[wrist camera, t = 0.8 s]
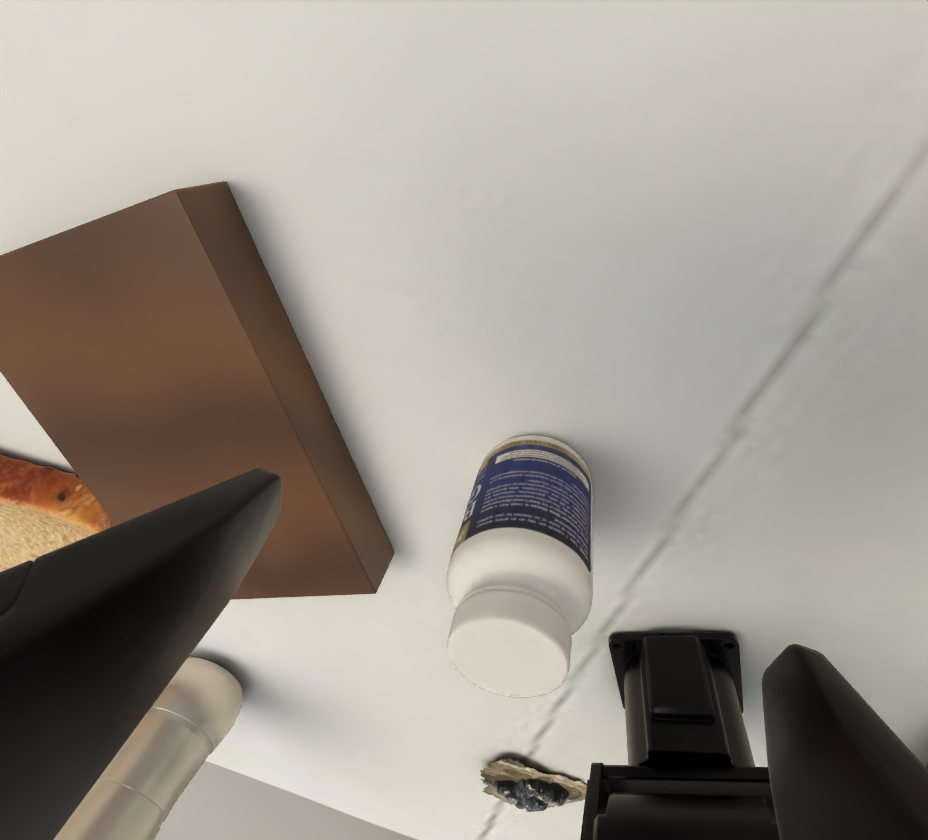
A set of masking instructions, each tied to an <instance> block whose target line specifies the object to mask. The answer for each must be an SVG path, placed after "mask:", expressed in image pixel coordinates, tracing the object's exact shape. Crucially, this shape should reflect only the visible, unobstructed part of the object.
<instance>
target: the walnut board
mask: <svg viewBox="0 0 928 840" xmlns="http://www.w3.org/2000/svg"><path fill="white" fill-rule="evenodd" d="M0 372H1V373H2V374H3V376H4V377H5V378H6V380H7V381H8V382H9V384H10V385H11V386H12V388H13V389H14V390H15V392H16V393H17V394H18V396H19V397H20V398H21V400H22V401H23V402H24V404H25V405H26V406H27V408H28V409H29V410H30V412H31V413H32V414H33V416H34V417H35V418H36V420H37V421H38V422H39V424H40V425H41V426H42V428H43V429H44V430H45V432H46V433H47V434H48V436H49V437H50V438H51V440H52V441H53V442H54V444H55V445H56V446H57V448H58V449H59V450H60V452H61V453H62V454H63V456H64V457H65V458H66V460H67V461H68V462H69V464H70V465H71V466H72V468H73V469H74V470H75V472H76V473H77V474H78V476H79V477H80V478H81V480H82V481H83V482H84V484H85V485H86V486H87V488H88V489H89V490H90V492H91V493H92V494H93V496H94V497H95V498H96V500H97V501H98V502H99V504H100V505H101V506H102V508H103V509H104V510H105V512H106V513H107V514H108V516H109V517H110V518H111V520H112V521H113V522H114V524H115V525H118V524H121V523H123V522H126V521H128V520H131V519H133V518H135V517H138V516H140V515H143V514H145V513H148V512H150V511H153V510H155V509H158V508H160V507H163V506H165V505H168V504H170V503H173V502H175V501H177V500H180V499H182V498H185V497H187V496H190V495H192V494H195V493H197V492H200V491H202V490H205V489H207V488H210V487H212V486H215V485H217V484H220V483H222V482H224V481H227V480H229V479H232V478H234V477H237V476H239V475H242V474H244V473H247V472H249V471H252V470H254V469H258V468H262V469H265V470H268V471H271V472H275V473H278V474H279V475H280V476H281V478H282V501H281V512H280V515H279V518H278V520H277V522H276V524H275V526H274V527H273V529H272V531H271V533H270V534H269V536H268V538H267V539H266V541H265V543H264V545H263V546H262V548H261V550H260V551H259V553H258V555H257V557H256V558H255V560H254V562H253V563H252V565H251V567H250V569H249V570H248V572H247V574H246V575H245V577H244V579H243V581H242V582H241V584H240V586H239V587H238V589H237V590H236V592H235V594H234V595H233V597H232V598H231V599H253V598H278V597H303V596H327V595H352V594H375V593H376V592H377V590H378V588H379V586H380V584H381V581H382V579H383V577H384V575H385V572H386V570H387V568H388V566H389V564H390V561H391V559H392V557H393V555H394V551H393V549H392V546H391V544H390V542H389V540H388V538H387V535H386V533H385V531H384V529H383V527H382V524H381V522H380V520H379V518H378V516H377V513H376V511H375V509H374V507H373V505H372V502H371V500H370V498H369V496H368V494H367V491H366V489H365V487H364V485H363V483H362V480H361V478H360V476H359V474H358V472H357V469H356V467H355V465H354V463H353V461H352V458H351V456H350V454H349V452H348V450H347V447H346V445H345V443H344V441H343V439H342V436H341V434H340V432H339V430H338V428H337V425H336V423H335V421H334V419H333V417H332V414H331V412H330V410H329V408H328V406H327V403H326V401H325V399H324V397H323V395H322V392H321V390H320V388H319V386H318V384H317V381H316V379H315V377H314V375H313V373H312V370H311V368H310V366H309V364H308V362H307V359H306V357H305V355H304V353H303V350H302V348H301V346H300V344H299V342H298V339H297V337H296V335H295V333H294V331H293V328H292V326H291V324H290V322H289V320H288V317H287V315H286V313H285V311H284V309H283V306H282V304H281V302H280V300H279V298H278V295H277V293H276V291H275V289H274V287H273V284H272V282H271V280H270V278H269V276H268V273H267V271H266V269H265V267H264V265H263V262H262V260H261V258H260V256H259V254H258V251H257V249H256V247H255V245H254V243H253V240H252V238H251V236H250V234H249V232H248V229H247V227H246V225H245V223H244V221H243V218H242V216H241V214H240V212H239V210H238V207H237V205H236V203H235V201H234V199H233V196H232V194H231V192H230V190H229V188H228V185H227V183H226V182H225V181H223V182H217V183H211V184H205V185H200V186H194V187H188V188H182V189H177V190H173V191H170V192H168V193H165V194H162V195H160V196H157V197H154V198H152V199H149V200H146V201H144V202H141V203H138V204H136V205H133V206H130V207H128V208H125V209H122V210H120V211H117V212H115V213H112V214H109V215H107V216H104V217H101V218H99V219H96V220H93V221H91V222H88V223H85V224H83V225H80V226H77V227H75V228H72V229H69V230H67V231H64V232H62V233H59V234H56V235H54V236H51V237H48V238H46V239H43V240H40V241H38V242H35V243H32V244H30V245H27V246H24V247H22V248H19V249H16V250H14V251H11V252H9V253H6V254H3V255H1V256H0Z"/></svg>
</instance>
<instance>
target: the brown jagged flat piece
mask: <svg viewBox="0 0 928 840" xmlns="http://www.w3.org/2000/svg"><path fill="white" fill-rule="evenodd" d="M488 767H489V768H490V770H489V769H485V768H484V769H483V770H480V771H481V776H482V777H484V778H485V779H484V780H483V783H485V784H486V785H488V787H487V788H486V787H485V788H483V789H485V790H484V791H482V792H485V793H487V794H489V795H494V796H495V797H496V798H499V799H501V800H503V801H504V802H508V803H509V804H515V806H516V807H517V808H519V809H524V808H526V810H527V811H528V812H534V811H543V810H545V809H546V808H547V807H549V808H550V807H554V805H558V806H562V805H563V804H566V803H570V802H574V801H582V800H583V799H585V798H586V790H587V785H584V783H583V784H582V782H581V781H578V780H577V781H576V782H575V781H572V780H569V779H568V778H567V777H563V776H560V775H559V774H558V775H547V774H543V773H540V772H538V771H537V770H536V771H535V769H533V768H531V769H530V768H528V767H525V766H524V764H521V763H520V762H519V761H513V760H512V759H510V758H509V759H500V760H499V761H496V762H491V764H489V765H488ZM481 780H482V779H481Z"/></svg>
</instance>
